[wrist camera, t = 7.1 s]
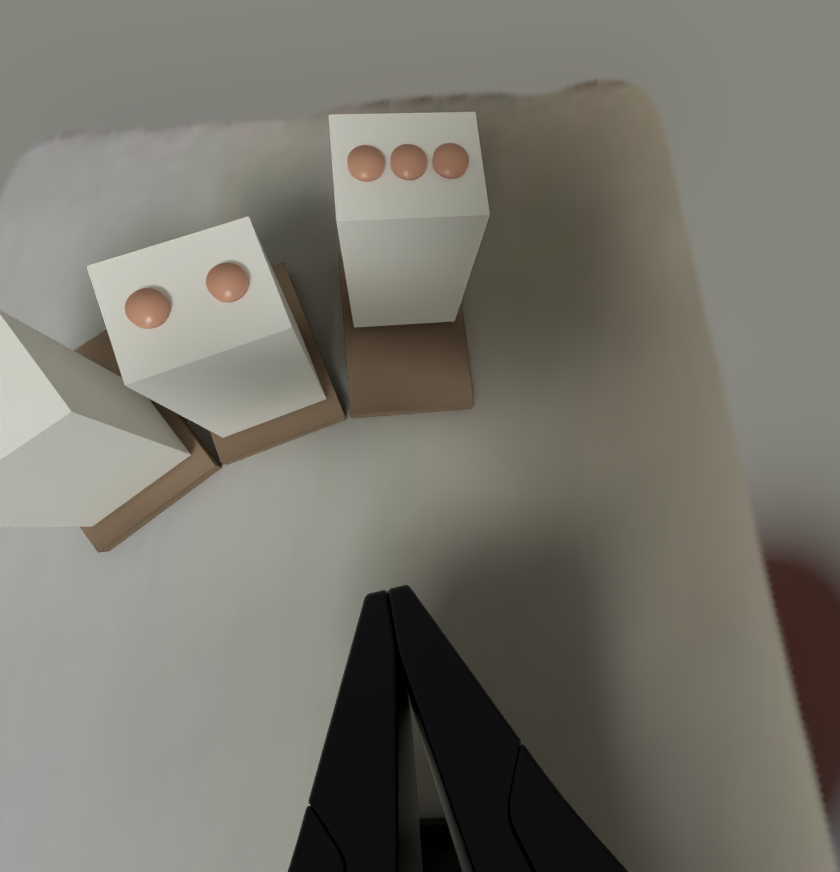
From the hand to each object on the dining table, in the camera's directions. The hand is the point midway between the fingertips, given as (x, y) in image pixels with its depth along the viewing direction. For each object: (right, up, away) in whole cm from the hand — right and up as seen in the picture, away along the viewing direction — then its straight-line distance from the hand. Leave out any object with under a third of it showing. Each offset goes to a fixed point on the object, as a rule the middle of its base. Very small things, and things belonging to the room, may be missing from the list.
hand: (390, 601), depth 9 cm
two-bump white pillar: (-7, +6, +13) cm, 16 cm away
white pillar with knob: (-13, +2, +13) cm, 18 cm away
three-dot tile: (0, +11, +14) cm, 18 cm away
